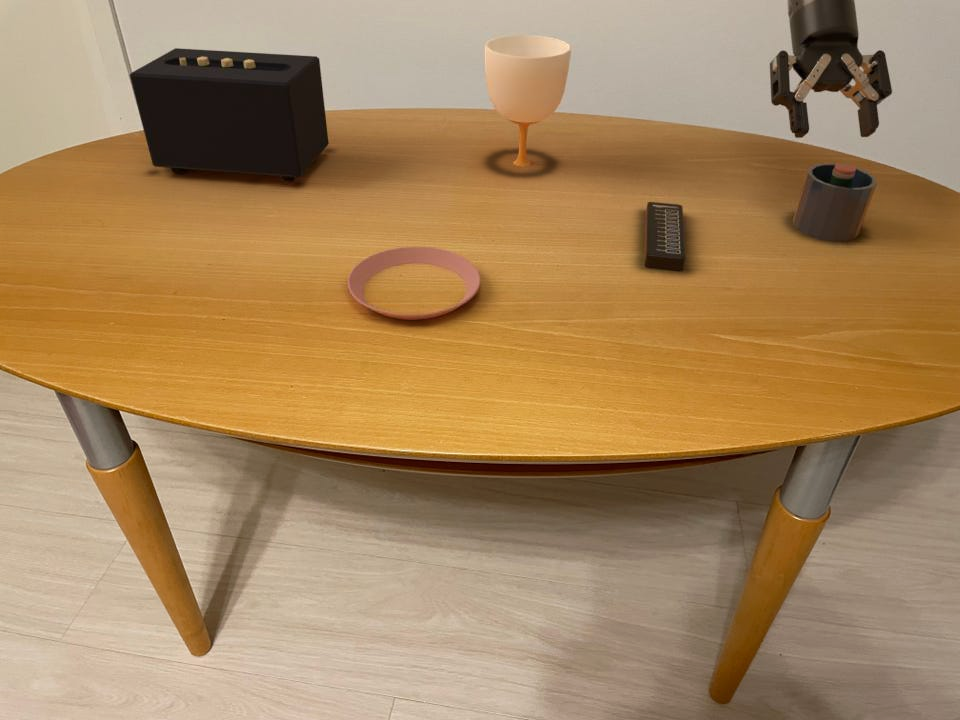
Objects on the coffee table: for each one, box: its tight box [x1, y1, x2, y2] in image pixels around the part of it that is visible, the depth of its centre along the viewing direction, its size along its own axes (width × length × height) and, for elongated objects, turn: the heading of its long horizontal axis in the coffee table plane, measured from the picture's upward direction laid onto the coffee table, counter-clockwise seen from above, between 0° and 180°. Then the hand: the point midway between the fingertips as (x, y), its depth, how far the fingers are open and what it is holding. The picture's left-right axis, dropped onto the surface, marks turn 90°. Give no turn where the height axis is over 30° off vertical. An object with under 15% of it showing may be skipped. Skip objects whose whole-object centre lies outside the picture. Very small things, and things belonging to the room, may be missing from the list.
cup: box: [484, 34, 572, 168], centre depth 105 cm, size 12×12×17 cm
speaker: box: [129, 47, 330, 183], centre depth 104 cm, size 22×13×15 cm, turn 82°
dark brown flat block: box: [643, 201, 687, 272], centre depth 90 cm, size 4×14×2 cm, turn 169°
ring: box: [347, 246, 482, 321], centre depth 81 cm, size 14×14×2 cm
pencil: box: [829, 163, 857, 188], centre depth 92 cm, size 2×2×8 cm
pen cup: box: [792, 163, 878, 243], centre depth 92 cm, size 8×8×8 cm
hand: (835, 134), depth 91 cm, fingers open, 8 cm apart
